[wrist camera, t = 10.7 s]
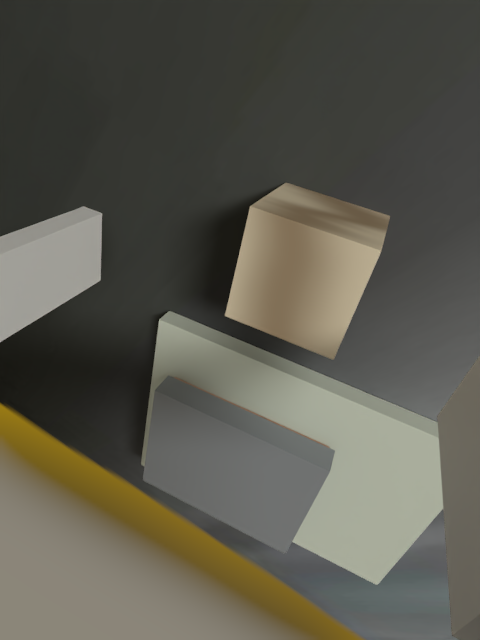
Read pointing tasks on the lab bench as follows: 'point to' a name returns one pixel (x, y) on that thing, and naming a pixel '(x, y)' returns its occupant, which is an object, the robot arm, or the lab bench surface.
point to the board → (329, 429)
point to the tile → (233, 462)
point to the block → (305, 266)
